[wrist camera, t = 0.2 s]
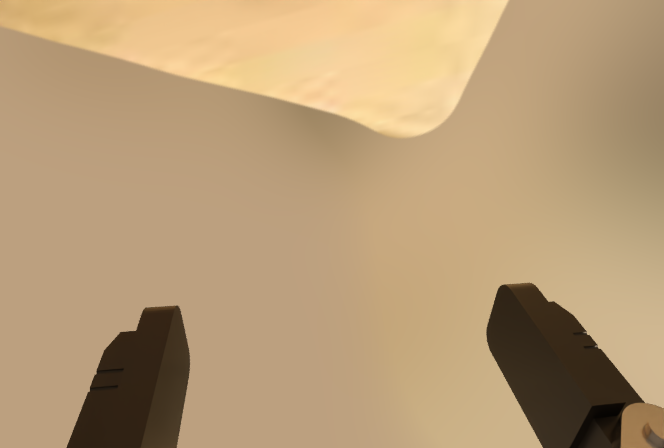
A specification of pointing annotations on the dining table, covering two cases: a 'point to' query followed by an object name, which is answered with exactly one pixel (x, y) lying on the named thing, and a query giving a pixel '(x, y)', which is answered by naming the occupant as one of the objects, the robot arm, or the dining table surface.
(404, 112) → the dining table surface
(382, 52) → the dining table surface
